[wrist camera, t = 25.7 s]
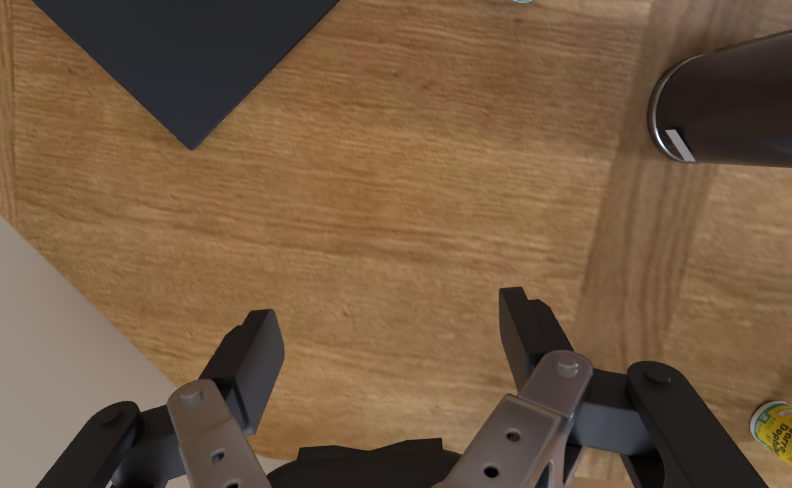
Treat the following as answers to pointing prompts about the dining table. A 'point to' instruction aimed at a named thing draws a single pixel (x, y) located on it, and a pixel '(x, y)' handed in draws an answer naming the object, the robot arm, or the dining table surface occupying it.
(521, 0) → the pacifier
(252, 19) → the placemat
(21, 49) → the dining table surface
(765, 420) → the supplement bottle
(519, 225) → the dining table surface
